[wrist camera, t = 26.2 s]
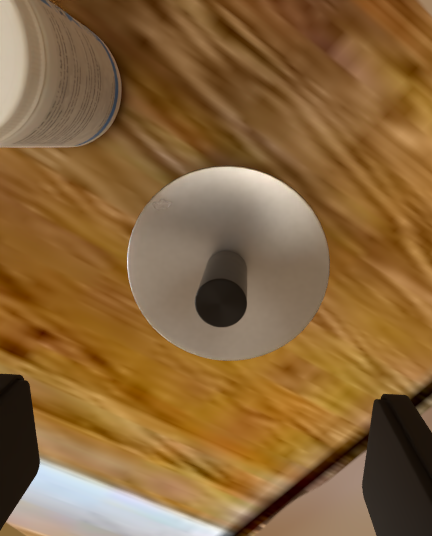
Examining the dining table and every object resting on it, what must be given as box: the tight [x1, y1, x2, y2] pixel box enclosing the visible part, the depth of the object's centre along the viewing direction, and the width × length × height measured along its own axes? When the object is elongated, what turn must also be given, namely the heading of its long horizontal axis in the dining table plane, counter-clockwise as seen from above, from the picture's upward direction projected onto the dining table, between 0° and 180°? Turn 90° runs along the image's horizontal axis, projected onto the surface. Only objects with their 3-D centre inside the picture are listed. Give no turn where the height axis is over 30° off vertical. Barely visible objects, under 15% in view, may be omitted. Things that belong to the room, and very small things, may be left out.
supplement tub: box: [0, 0, 122, 147], centre depth 26 cm, size 10×10×15 cm
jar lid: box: [127, 165, 330, 361], centre depth 23 cm, size 13×13×7 cm
